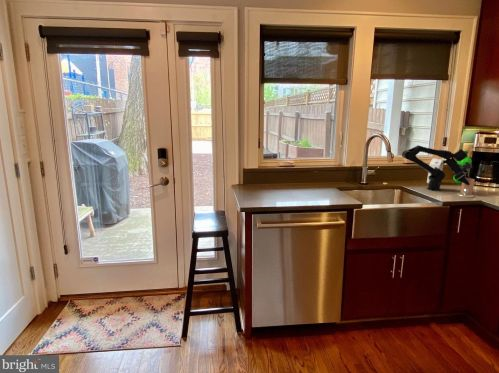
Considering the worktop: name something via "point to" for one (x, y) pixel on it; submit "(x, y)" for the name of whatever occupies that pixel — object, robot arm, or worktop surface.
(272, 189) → the worktop surface
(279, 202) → the worktop surface
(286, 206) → the worktop surface
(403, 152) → the robot arm
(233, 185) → the worktop surface
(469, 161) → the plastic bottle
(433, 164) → the milk carton
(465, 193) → the silver pot lid
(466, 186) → the terracotta pot
